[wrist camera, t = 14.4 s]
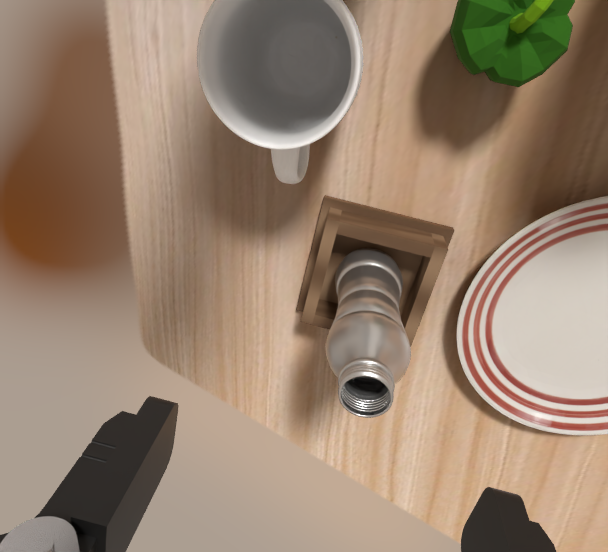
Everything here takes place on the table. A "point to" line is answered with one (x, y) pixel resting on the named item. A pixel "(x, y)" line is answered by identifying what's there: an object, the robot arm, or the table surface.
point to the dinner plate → (543, 323)
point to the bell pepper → (511, 37)
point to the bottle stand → (378, 235)
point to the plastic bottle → (368, 332)
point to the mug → (280, 73)
